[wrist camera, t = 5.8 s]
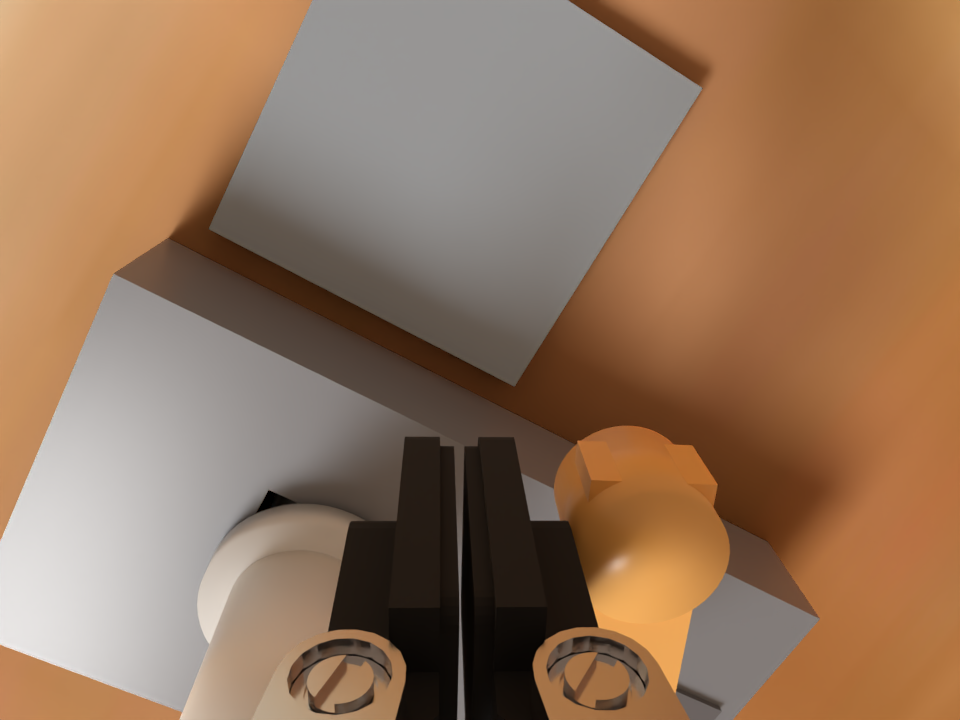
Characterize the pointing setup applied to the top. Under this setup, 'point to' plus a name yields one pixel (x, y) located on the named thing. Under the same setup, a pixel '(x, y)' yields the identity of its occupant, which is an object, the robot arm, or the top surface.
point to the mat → (452, 163)
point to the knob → (264, 602)
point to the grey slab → (273, 481)
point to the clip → (643, 535)
